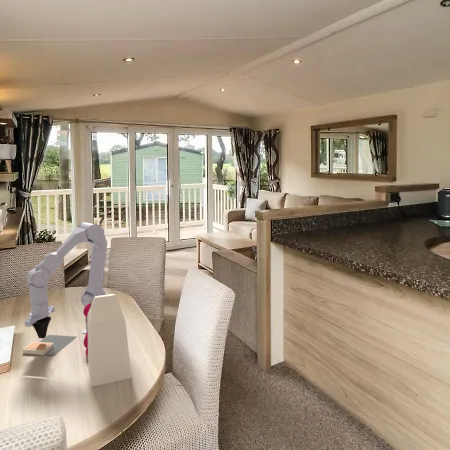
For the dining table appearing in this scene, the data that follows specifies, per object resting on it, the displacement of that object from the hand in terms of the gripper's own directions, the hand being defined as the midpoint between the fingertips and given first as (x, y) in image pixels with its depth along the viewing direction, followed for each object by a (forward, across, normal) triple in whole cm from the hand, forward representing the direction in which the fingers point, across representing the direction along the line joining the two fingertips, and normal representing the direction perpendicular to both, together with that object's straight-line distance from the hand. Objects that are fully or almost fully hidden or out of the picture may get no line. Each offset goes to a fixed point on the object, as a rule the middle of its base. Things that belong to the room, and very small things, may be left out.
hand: (42, 337), depth 141 cm
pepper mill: (+4, +1, +21) cm, 21 cm away
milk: (+4, +13, +32) cm, 35 cm away
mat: (+4, -2, +2) cm, 5 cm away
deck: (+3, 0, 0) cm, 3 cm away
